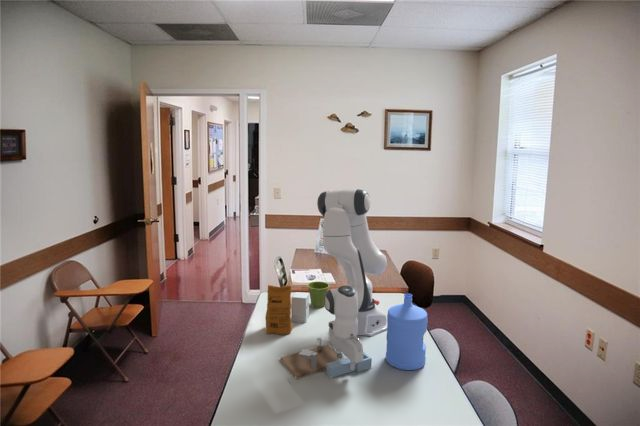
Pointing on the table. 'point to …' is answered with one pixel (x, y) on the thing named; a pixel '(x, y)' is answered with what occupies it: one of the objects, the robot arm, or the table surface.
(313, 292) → the plant pot
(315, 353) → the pintle keeper
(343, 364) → the link
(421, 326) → the water jug
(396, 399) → the table surface
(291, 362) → the base board
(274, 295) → the coffee package
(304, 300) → the supplement box
